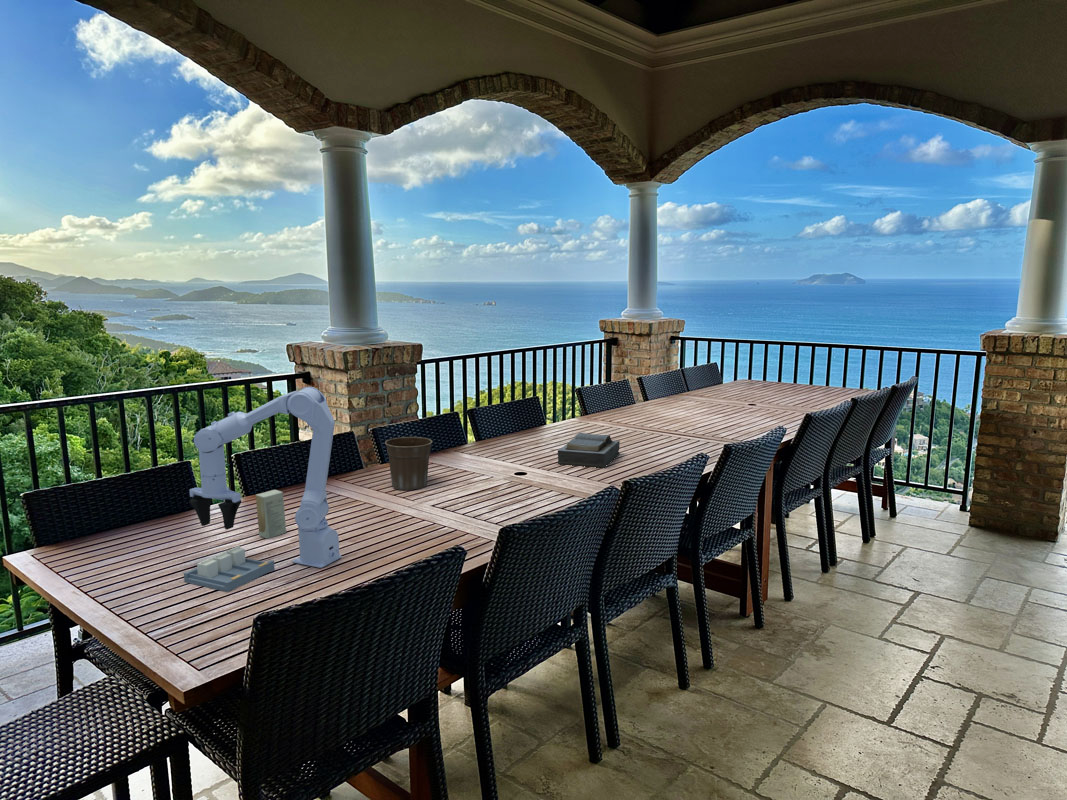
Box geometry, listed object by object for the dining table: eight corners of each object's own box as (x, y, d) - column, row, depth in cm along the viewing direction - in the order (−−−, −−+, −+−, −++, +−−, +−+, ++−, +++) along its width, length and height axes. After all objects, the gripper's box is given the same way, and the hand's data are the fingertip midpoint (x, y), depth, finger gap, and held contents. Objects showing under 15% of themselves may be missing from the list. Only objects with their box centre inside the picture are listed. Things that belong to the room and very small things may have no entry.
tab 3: (245, 562, 175) (244, 546, 174) (235, 566, 172) (234, 550, 171) (236, 560, 176) (235, 544, 176) (226, 564, 173) (225, 549, 173)
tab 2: (232, 568, 171) (231, 552, 171) (221, 573, 168) (220, 556, 168) (223, 566, 172) (222, 550, 172) (212, 571, 170) (211, 555, 169)
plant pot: (438, 480, 253) (437, 436, 251) (427, 493, 237) (425, 446, 235) (394, 479, 255) (392, 436, 252) (380, 492, 239) (378, 446, 236)
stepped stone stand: (630, 457, 288) (630, 434, 286) (600, 472, 265) (600, 446, 264) (580, 450, 300) (580, 428, 299) (547, 464, 278) (547, 439, 276)
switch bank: (274, 569, 173) (273, 560, 173) (227, 592, 160) (227, 582, 160) (232, 560, 179) (231, 551, 178) (184, 581, 166) (183, 572, 165)
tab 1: (218, 574, 167) (217, 558, 167) (207, 579, 165) (205, 563, 164) (209, 572, 169) (207, 556, 168) (198, 577, 166) (196, 561, 165)
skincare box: (278, 529, 202) (275, 488, 200) (286, 533, 199) (284, 491, 197) (257, 536, 197) (254, 493, 195) (265, 539, 194) (263, 496, 192)
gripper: (248, 472, 175) (251, 524, 178) (203, 467, 180) (207, 518, 183) (226, 479, 169) (230, 533, 171) (181, 474, 174) (185, 527, 176)
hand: (217, 526), depth 176 cm, fingers open, 7 cm apart
